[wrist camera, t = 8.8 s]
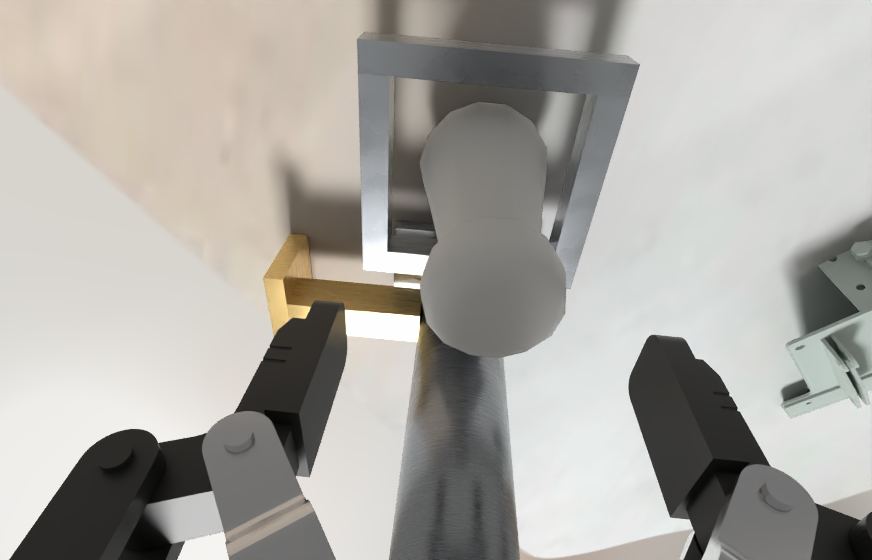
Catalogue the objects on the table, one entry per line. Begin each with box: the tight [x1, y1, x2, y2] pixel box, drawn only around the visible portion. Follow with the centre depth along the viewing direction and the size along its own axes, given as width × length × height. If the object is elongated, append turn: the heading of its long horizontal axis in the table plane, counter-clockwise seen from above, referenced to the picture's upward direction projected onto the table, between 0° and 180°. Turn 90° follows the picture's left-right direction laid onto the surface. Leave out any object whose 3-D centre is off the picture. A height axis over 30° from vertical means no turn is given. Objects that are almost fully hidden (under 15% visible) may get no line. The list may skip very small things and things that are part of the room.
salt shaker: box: [419, 102, 566, 358], centre depth 18 cm, size 6×6×13 cm
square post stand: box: [263, 32, 640, 560], centre depth 17 cm, size 15×18×22 cm
